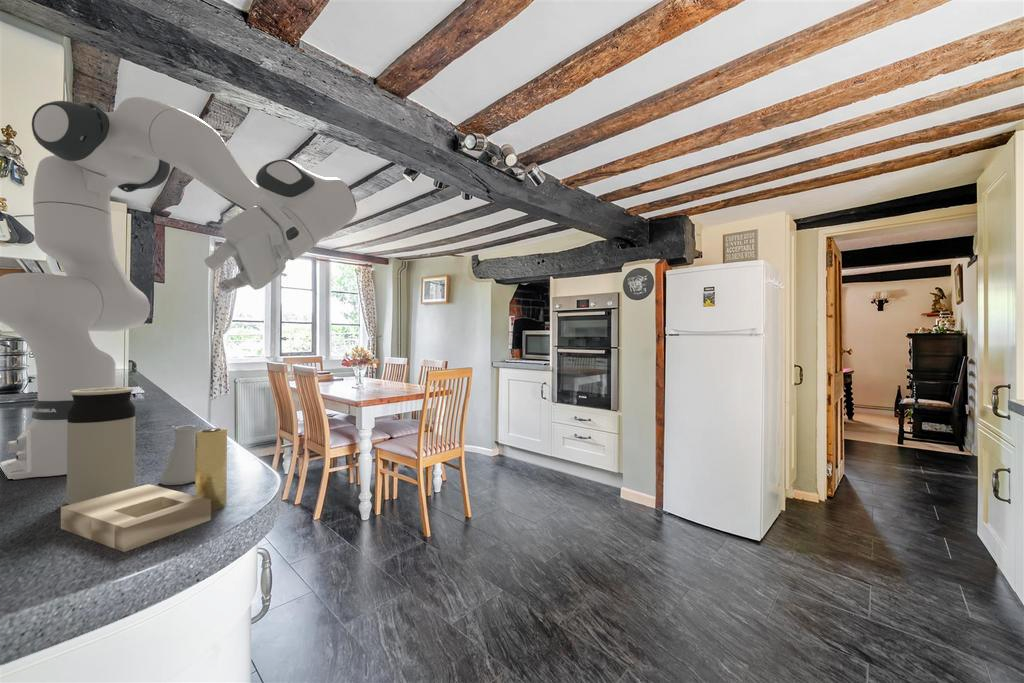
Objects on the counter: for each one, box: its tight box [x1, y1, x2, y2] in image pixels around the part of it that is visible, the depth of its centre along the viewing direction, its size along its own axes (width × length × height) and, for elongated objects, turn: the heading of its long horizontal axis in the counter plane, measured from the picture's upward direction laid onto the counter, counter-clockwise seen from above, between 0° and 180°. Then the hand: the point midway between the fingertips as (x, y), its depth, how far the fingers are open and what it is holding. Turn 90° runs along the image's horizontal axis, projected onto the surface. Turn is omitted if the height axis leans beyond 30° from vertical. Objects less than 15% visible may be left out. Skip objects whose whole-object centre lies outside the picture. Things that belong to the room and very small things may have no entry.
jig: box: [60, 483, 212, 553], centre depth 58 cm, size 16×10×3 cm, turn 67°
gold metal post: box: [194, 427, 228, 512], centre depth 64 cm, size 4×4×12 cm
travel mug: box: [66, 386, 136, 505], centre depth 68 cm, size 8×8×18 cm
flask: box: [157, 424, 197, 486], centre depth 77 cm, size 7×7×10 cm
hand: (215, 278), depth 71 cm, fingers open, 8 cm apart
